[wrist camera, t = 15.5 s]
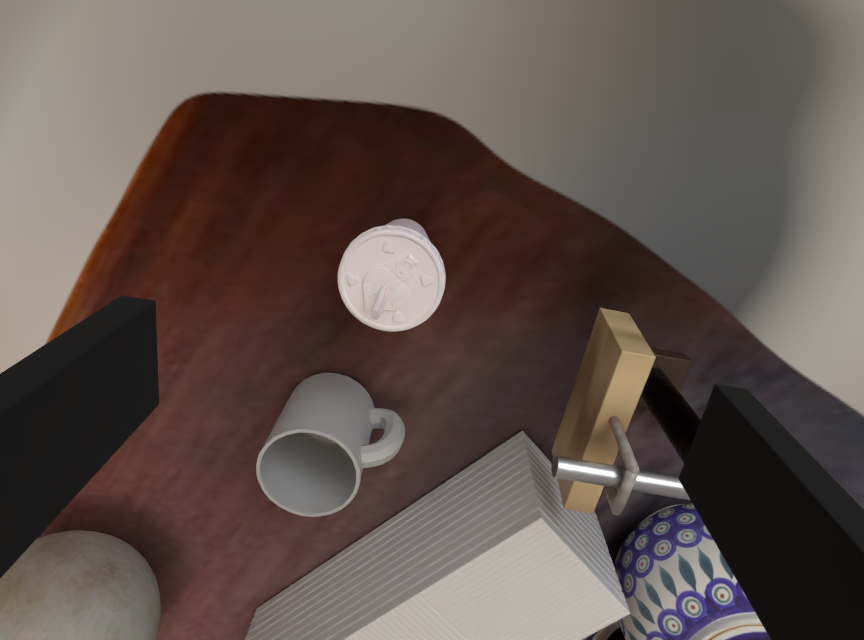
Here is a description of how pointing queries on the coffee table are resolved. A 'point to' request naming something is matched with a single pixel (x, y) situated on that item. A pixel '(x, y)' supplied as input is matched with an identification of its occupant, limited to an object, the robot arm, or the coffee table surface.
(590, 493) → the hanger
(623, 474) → the stand
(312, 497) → the cup
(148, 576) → the decorative sphere
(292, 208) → the coffee table surface
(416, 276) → the smoothie
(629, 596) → the teapot
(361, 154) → the coffee table surface
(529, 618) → the stack of papers
